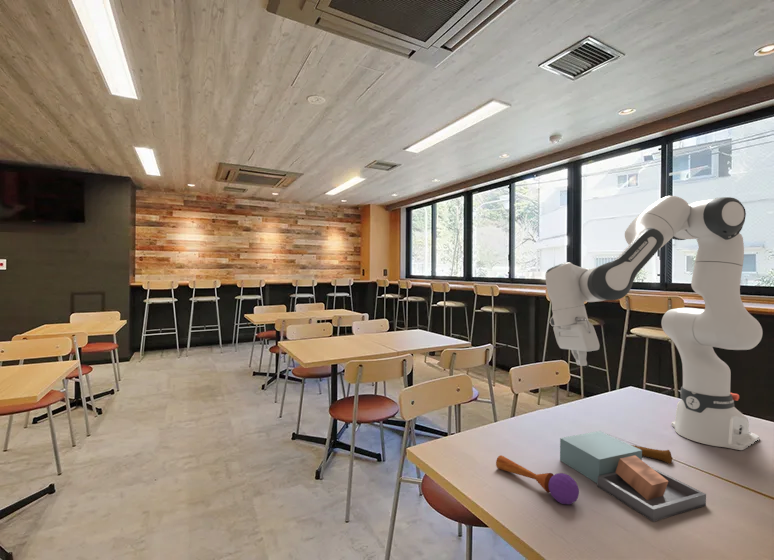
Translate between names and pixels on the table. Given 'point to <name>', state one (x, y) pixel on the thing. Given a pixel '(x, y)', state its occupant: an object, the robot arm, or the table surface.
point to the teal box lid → (595, 453)
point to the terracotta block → (641, 477)
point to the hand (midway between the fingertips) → (582, 365)
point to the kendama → (545, 481)
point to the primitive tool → (656, 454)
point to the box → (670, 504)
